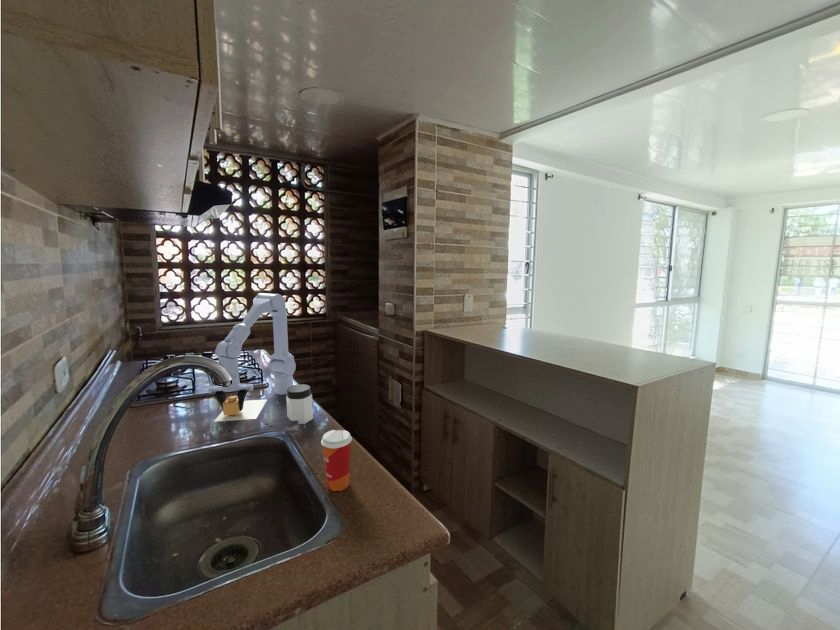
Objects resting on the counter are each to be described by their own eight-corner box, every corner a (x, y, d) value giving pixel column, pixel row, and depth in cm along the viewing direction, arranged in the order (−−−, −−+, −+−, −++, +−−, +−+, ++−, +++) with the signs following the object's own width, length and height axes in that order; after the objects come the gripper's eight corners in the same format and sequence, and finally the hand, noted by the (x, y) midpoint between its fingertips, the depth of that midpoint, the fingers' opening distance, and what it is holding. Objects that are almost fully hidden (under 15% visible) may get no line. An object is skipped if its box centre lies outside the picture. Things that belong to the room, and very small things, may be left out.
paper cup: (327, 476, 102) (325, 428, 99) (355, 477, 102) (354, 428, 99) (319, 494, 94) (316, 442, 92) (349, 495, 94) (347, 443, 92)
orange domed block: (228, 409, 138) (227, 395, 137) (242, 408, 139) (241, 394, 138) (223, 415, 134) (222, 400, 133) (238, 414, 134) (237, 399, 133)
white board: (230, 405, 149) (230, 401, 148) (267, 402, 151) (267, 399, 151) (214, 425, 131) (213, 421, 131) (256, 422, 133) (256, 418, 133)
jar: (285, 425, 131) (283, 392, 129) (289, 415, 139) (288, 384, 137) (311, 424, 133) (309, 391, 131) (314, 414, 141) (313, 383, 139)
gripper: (203, 379, 129) (207, 416, 131) (248, 376, 131) (251, 413, 134) (211, 372, 136) (214, 408, 138) (253, 370, 138) (256, 405, 140)
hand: (233, 410), depth 136 cm, fingers closed on orange domed block, 5 cm apart
